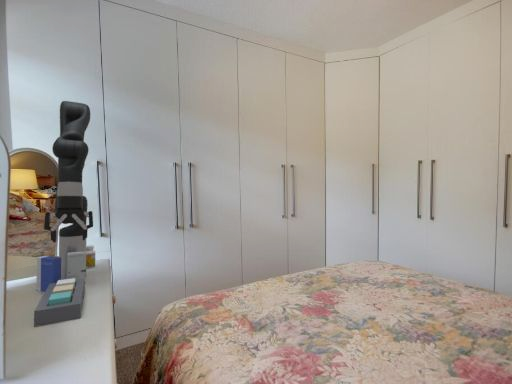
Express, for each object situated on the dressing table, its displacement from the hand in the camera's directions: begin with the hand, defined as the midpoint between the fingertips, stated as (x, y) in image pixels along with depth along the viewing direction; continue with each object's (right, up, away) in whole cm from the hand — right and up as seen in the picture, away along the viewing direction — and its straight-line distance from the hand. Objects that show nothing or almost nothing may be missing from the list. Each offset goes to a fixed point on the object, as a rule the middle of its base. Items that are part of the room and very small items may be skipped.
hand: (69, 241), depth 95 cm
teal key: (+11, -16, -19) cm, 27 cm away
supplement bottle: (-12, -18, +29) cm, 36 cm away
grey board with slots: (+7, -17, -13) cm, 23 cm away
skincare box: (-1, -18, +5) cm, 18 cm away
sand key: (+7, -15, -13) cm, 21 cm away
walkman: (-7, -18, 0) cm, 19 cm away
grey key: (+4, -15, -7) cm, 17 cm away
